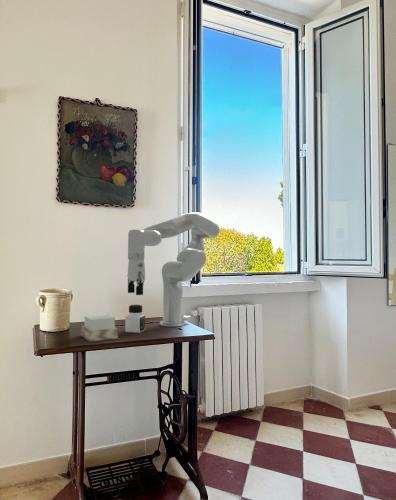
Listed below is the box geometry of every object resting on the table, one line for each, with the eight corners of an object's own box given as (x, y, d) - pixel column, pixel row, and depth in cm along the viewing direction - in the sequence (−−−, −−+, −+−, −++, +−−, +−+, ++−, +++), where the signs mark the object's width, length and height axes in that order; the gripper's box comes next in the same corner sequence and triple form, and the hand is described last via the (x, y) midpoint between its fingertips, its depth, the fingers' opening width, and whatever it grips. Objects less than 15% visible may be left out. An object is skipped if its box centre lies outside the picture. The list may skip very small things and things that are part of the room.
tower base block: (108, 333, 172) (108, 323, 172) (117, 339, 162) (117, 328, 162) (81, 336, 166) (81, 326, 166) (89, 342, 156) (89, 331, 156)
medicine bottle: (140, 333, 172) (140, 306, 172) (125, 332, 174) (125, 305, 174) (145, 329, 179) (145, 304, 179) (130, 329, 181) (131, 303, 181)
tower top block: (107, 324, 171) (107, 314, 171) (114, 328, 162) (114, 317, 162) (84, 326, 165) (84, 316, 165) (91, 330, 157) (91, 319, 157)
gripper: (151, 257, 171) (150, 295, 171) (136, 256, 186) (135, 291, 186) (135, 256, 167) (134, 296, 167) (121, 256, 182) (120, 292, 182)
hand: (135, 293), depth 176 cm, fingers open, 9 cm apart
